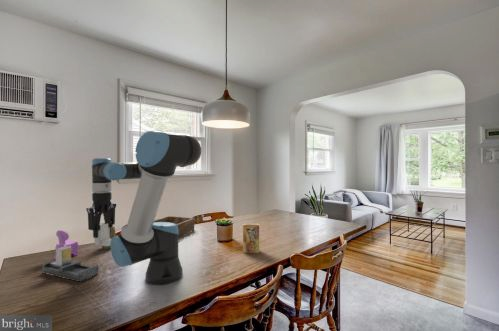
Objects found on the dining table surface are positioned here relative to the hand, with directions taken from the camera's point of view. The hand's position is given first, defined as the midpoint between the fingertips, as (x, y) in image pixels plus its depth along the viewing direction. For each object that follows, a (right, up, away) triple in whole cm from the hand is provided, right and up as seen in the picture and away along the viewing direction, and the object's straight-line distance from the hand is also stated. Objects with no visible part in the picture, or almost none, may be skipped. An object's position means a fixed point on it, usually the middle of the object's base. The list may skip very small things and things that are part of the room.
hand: (102, 242), depth 110 cm
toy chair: (-28, -13, +15) cm, 34 cm away
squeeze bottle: (-14, -13, +29) cm, 35 cm away
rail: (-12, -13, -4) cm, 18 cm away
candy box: (+69, -13, +23) cm, 73 cm away
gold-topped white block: (+2, 0, -1) cm, 2 cm away
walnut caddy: (+12, -12, +54) cm, 56 cm away
